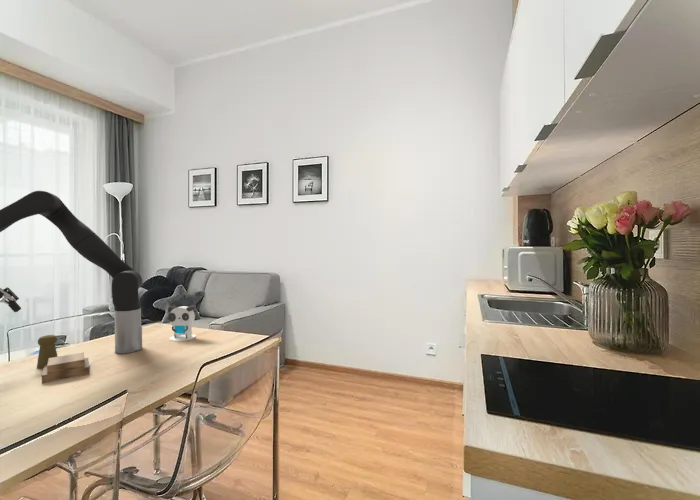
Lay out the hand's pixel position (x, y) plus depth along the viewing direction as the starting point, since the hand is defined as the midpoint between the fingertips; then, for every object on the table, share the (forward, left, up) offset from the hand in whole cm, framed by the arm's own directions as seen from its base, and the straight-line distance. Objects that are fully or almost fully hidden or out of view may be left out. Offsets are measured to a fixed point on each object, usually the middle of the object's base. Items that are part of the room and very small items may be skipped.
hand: (8, 311), depth 119 cm
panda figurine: (-58, -4, -21) cm, 61 cm away
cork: (-11, +4, -21) cm, 24 cm away
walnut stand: (-16, +18, -21) cm, 32 cm away
